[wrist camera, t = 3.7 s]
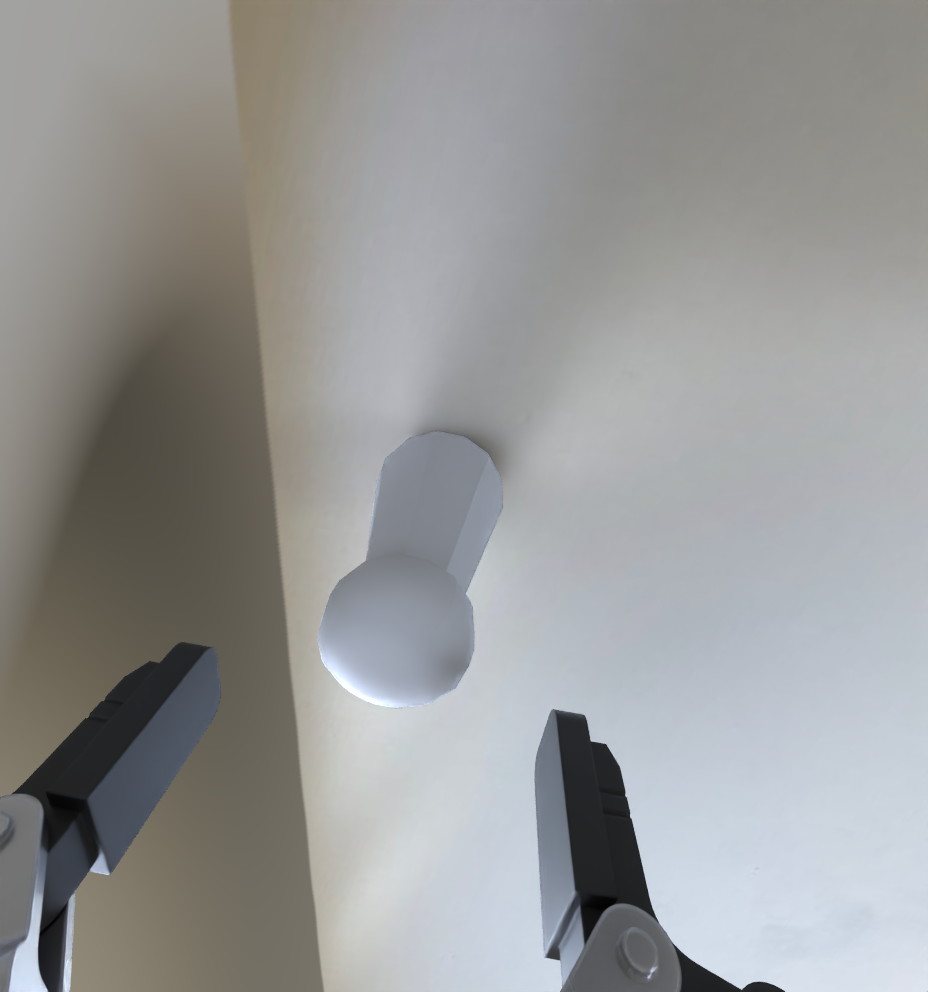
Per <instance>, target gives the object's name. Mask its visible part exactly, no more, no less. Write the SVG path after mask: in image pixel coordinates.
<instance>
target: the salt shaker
mask: <svg viewBox="0 0 928 992" xmlns="http://www.w3.org/2000/svg"><path fill="white" fill-rule="evenodd" d="M502 508H503V496H502V479H501V477H500V475H499V473H498V471H497V469H496V467H495V465H494V463H493V462H492V460H491V458H490V456H489V454H488V453H487V452H486V451H484V450H483V449H482V448H480V447H479V446H477V445H476V444H474V443H473V442H472V441H470V440H469V439H467V438H466V437H465V436H460V435H454V434H449V433H444V432H439V431H435V432H431V433H427V434H423V435H419V436H415V437H411V438H409V439H408V440H406V441H405V442H404V443H403V444H402V445H400V446H399V447H398V448H397V449H396V450H395V451H394V452H392V453H391V454H390V455H389V456H388V457H387V458H385V461H384V464H383V467H382V469H381V472H380V475H379V478H378V481H377V484H376V492H375V499H374V506H373V513H372V521H371V528H370V535H369V542H368V550H367V557H366V561H365V562H364V563H362V564H361V565H359V566H358V567H357V568H356V569H354V570H353V571H352V572H350V573H349V574H348V575H346V576H345V577H344V578H342V579H341V580H340V581H339V582H338V583H337V585H336V586H335V588H334V590H333V591H332V593H331V594H330V597H329V600H328V603H327V605H326V608H325V611H324V614H323V617H322V620H321V624H320V627H319V631H318V635H317V639H318V644H319V648H320V653H321V658H322V662H323V664H324V665H325V666H326V667H327V669H328V670H329V671H330V672H331V673H332V674H333V676H334V677H335V678H336V679H337V680H338V681H339V683H340V684H341V685H342V686H343V687H344V688H345V689H346V690H347V691H349V692H351V693H353V694H354V695H356V696H358V697H360V698H361V699H363V700H365V701H367V702H368V703H372V704H377V705H382V706H388V707H393V708H402V707H410V706H417V705H424V704H428V703H432V702H433V701H435V700H437V699H438V698H440V697H442V696H443V695H445V694H447V693H448V692H450V691H452V690H453V689H455V688H456V686H457V685H458V683H459V681H460V680H461V678H462V676H463V675H464V673H465V671H466V670H467V668H468V666H469V663H470V660H471V658H472V655H473V652H474V622H473V607H472V605H471V602H470V600H469V598H468V597H467V595H466V591H467V589H468V587H469V584H470V582H471V580H472V577H473V575H474V573H475V571H476V568H477V566H478V564H479V561H480V559H481V557H482V554H483V552H484V550H485V547H486V545H487V543H488V541H489V538H490V536H491V534H492V531H493V529H494V527H495V524H496V522H497V520H498V517H499V515H500V513H501V510H502Z"/></svg>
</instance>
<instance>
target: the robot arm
mask: <svg viewBox="0 0 928 992" xmlns="http://www.w3.org/2000/svg"><path fill="white" fill-rule="evenodd" d="M220 688H221V687H220V677H219V667H218V657H217V651H216V649H215V648H213V647H207V646H202V645H196V644H191V643H185V642H181V643H179V644H177V645H176V646H175V647H174V648H173V649H172V650H171V651H170V652H169V653H168V654H167V655H166V657H165V658H164V659H163V660H162V661H161V662H160V663H156V662H151V661H150V662H148V663H146V664H145V665H143V666H141V667H140V668H138V669H137V670H135V671H134V672H132V673H130V674H129V675H127V676H125V677H124V678H123V679H122V680H121V681H120V682H119V683H118V684H117V686H116V687H115V688H114V689H113V690H112V691H111V692H110V693H109V694H108V695H107V696H106V698H105V700H104V701H102V702H100V703H99V705H98V706H97V707H96V708H95V709H94V710H93V711H92V712H91V713H90V715H89V717H88V718H87V719H86V718H85V719H84V720H83V721H82V722H81V723H80V725H79V726H78V727H77V728H76V729H75V730H74V731H73V732H72V733H71V734H70V735H69V736H68V737H67V738H66V739H65V740H64V741H63V742H62V743H61V745H60V746H59V747H58V748H57V749H56V750H55V751H54V752H53V753H52V754H51V755H50V756H49V757H48V758H47V759H46V761H45V762H44V763H43V764H42V765H41V766H40V767H39V768H38V769H37V770H36V771H35V772H34V773H33V774H32V775H31V776H30V777H29V778H28V779H27V780H26V782H24V783H23V785H21V786H20V787H19V788H18V789H17V790H16V791H15V792H13V793H12V794H11V795H5V796H2V797H0V992H70V979H71V962H72V945H73V928H74V927H73V926H74V910H75V890H76V889H77V888H78V886H79V885H80V883H81V882H82V880H83V879H84V878H85V876H86V875H87V873H88V872H89V871H91V872H97V873H102V874H108V875H110V874H111V873H112V872H113V870H114V869H115V867H116V866H117V864H118V863H119V861H120V859H121V858H122V856H123V855H124V853H125V852H126V850H127V849H128V847H129V846H130V844H131V843H132V841H133V839H134V838H135V837H136V835H137V834H138V832H139V831H140V829H141V828H142V826H143V825H144V823H145V822H146V820H147V819H148V817H149V816H150V814H151V812H152V811H153V810H154V808H155V807H156V805H157V804H158V802H159V800H160V799H161V797H162V796H163V794H164V793H165V791H166V790H167V788H168V787H169V785H170V784H171V782H172V781H173V779H174V778H175V776H176V775H177V773H178V772H179V770H180V769H181V767H182V766H183V764H184V763H185V761H186V760H187V758H188V757H189V755H190V753H191V752H192V751H193V749H194V747H195V746H196V744H197V743H198V741H199V740H200V738H201V737H202V735H203V734H204V732H205V731H206V729H207V728H208V726H209V725H210V723H211V722H212V720H213V718H214V716H215V714H216V712H217V709H218V706H219V703H220V698H221V689H220ZM535 795H536V814H537V833H538V852H539V871H540V890H541V909H542V928H543V947H544V957H545V958H550V959H556V960H560V962H561V975H562V989H561V991H560V992H785V991H784V990H782V989H780V988H778V987H776V986H775V985H772V984H769V983H765V982H753V983H751V984H748V985H747V986H746V987H745V988H743V989H742V990H741V989H739V988H737V987H736V986H734V985H732V984H731V983H729V982H727V981H725V980H724V979H722V978H720V977H719V976H717V975H715V974H713V973H712V972H710V971H708V970H707V969H705V968H703V967H702V966H700V965H698V964H697V963H695V962H694V961H692V960H691V959H689V958H688V957H687V956H686V955H684V954H683V953H682V952H681V951H680V950H679V949H678V948H677V947H676V946H675V945H674V944H673V943H672V941H671V940H670V938H669V937H668V935H667V933H666V932H665V930H664V929H663V928H662V927H661V925H660V924H659V922H658V920H657V918H656V916H655V913H654V911H653V908H652V905H651V902H650V898H649V894H648V889H647V885H646V880H645V876H644V872H643V867H642V863H641V858H640V854H639V849H638V845H637V841H636V836H635V832H634V827H633V823H632V819H631V818H630V810H629V805H628V801H627V797H625V788H624V783H623V779H622V774H621V770H620V767H619V765H618V763H617V762H616V760H615V758H614V757H613V755H612V753H611V752H610V750H609V748H608V747H607V745H606V744H602V743H597V742H591V741H590V735H589V730H588V724H587V720H586V717H585V716H584V715H582V714H576V713H571V712H565V711H560V710H554V709H553V710H551V712H550V715H549V718H548V721H547V724H546V727H545V730H544V733H543V736H542V739H541V742H540V745H539V748H538V752H537V756H536V763H535Z"/></svg>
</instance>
